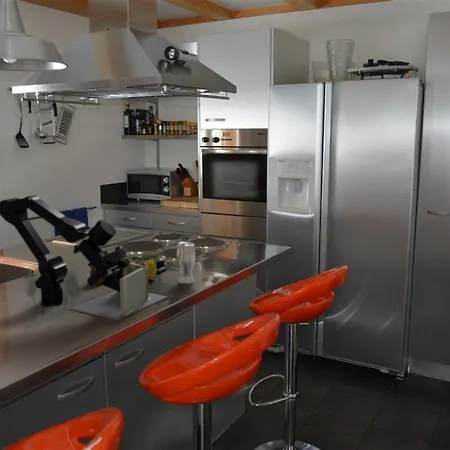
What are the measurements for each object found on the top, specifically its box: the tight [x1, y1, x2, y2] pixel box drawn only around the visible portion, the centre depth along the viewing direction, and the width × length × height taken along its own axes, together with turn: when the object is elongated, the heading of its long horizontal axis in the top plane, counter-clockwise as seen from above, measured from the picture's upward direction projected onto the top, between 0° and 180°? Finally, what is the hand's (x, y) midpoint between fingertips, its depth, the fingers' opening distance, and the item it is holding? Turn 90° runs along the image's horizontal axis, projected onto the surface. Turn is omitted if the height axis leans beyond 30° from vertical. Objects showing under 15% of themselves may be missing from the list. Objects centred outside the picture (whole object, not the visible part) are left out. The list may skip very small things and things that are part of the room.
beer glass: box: [176, 241, 196, 285], centre depth 201 cm, size 7×7×15 cm
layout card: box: [70, 290, 168, 322], centre depth 178 cm, size 26×20×1 cm
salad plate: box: [130, 258, 168, 274], centre depth 221 cm, size 19×18×5 cm
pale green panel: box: [120, 267, 146, 313], centre depth 172 cm, size 15×2×11 cm, turn 162°
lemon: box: [144, 258, 157, 280], centre depth 205 cm, size 6×6×8 cm
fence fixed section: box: [117, 263, 149, 300], centre depth 184 cm, size 15×2×13 cm, turn 54°
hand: (126, 291), depth 169 cm, fingers closed on pale green panel, 2 cm apart
